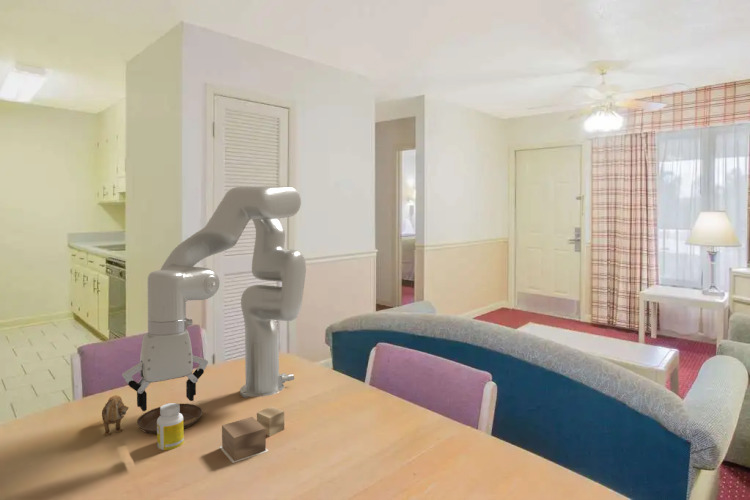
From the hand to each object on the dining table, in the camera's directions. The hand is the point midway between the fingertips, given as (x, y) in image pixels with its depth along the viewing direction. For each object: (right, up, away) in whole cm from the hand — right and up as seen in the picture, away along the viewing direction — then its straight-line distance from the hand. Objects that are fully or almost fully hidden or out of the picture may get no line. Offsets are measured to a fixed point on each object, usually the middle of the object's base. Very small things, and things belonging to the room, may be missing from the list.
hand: (167, 404), depth 101 cm
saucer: (-5, -10, +13) cm, 17 cm away
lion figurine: (-18, -10, +11) cm, 23 cm away
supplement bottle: (0, -11, +2) cm, 11 cm away
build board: (+19, -11, +1) cm, 22 cm away
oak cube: (+21, -9, +8) cm, 24 cm away
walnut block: (+17, -10, 0) cm, 20 cm away
